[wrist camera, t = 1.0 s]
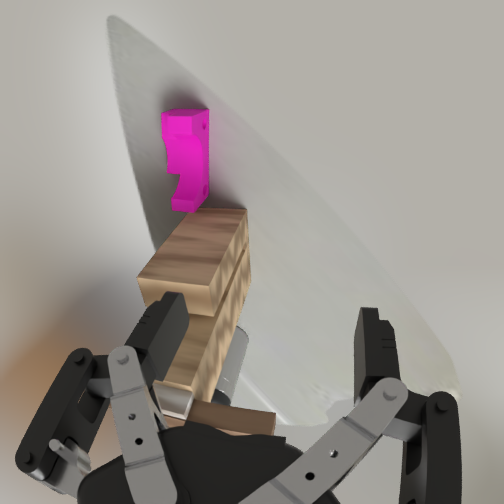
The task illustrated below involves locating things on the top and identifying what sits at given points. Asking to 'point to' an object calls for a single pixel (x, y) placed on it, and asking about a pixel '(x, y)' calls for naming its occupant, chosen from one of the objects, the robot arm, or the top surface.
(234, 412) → the walnut bar
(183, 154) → the toy block
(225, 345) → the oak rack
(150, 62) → the top surface
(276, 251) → the top surface
